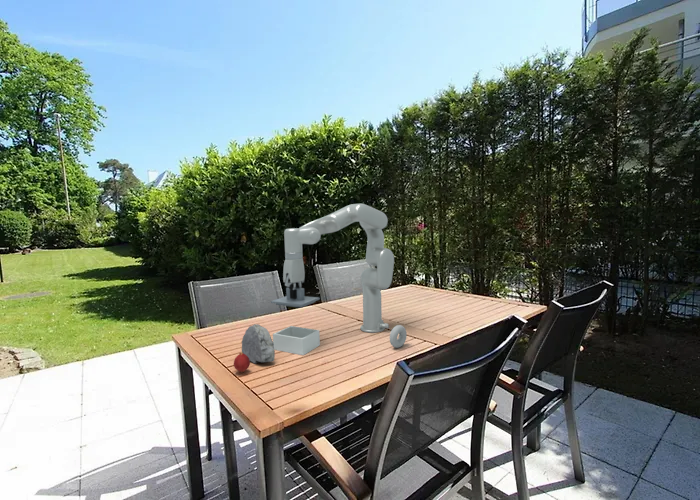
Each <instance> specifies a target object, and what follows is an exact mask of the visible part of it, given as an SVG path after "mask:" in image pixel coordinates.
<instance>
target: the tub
mask: <svg viewBox="0 0 700 500" xmlns="http://www.w3.org/2000/svg"><path fill="white" fill-rule="evenodd" d="M320 337H321V336H320V329H313V328H307V327H299V326H294V325H293V326H292V325H290V326H288V327H285V328H284V329H281V330H279V331H276V332H275V333H272V341H273V344H274V350H275V351H279V352H284V353H291V354H294V355H300V356H304V355H306V354H308V353H309V352H311V351H314V349H316V348H318V347H319V346H320V345H321V341H320V340H321V339H320Z"/></svg>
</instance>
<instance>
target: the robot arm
mask: <svg viewBox="0 0 700 500" xmlns="http://www.w3.org/2000/svg"><path fill="white" fill-rule="evenodd" d="M388 221H389V220H388V216H387V215H386V214H385V213H384V212H383V211H381V210H378V209H377V208H374V207H372V206H370V205H367V204H365V203H353V204H352V203H351V204H349V205H346V206H344V207H342V208H340V209H338V210H336V211H333V212H331V213H329V214H327V215H325V216H323V217H320V218H317V219H314V220H313V221H310V222H308V223H306V224H304V225H301V226H299V228H297V227H296V228H295V227H292V228H286V229H284V233H283V234H284V235H283V236H284V257H285V260H283V261H284V263H283V271H282V272H283V273H282V276H283V277H282V280H283V283H284V286H285V287H286V288H289V290H290V298H291V299H296V298H297V295H296V290H295V288H303V287H302V286H303V283H305V277H306V276H305V272H306V271H305V265H304V259H303V245H314V244H317V243H318V242H320V240H321V236H322V235H324V234H331V233H335V232H338V231H340V230H342V229H344V228H346V227H348V226H349V225H351V224H354V223H355V222H357V223H358V222H359V225H360V226H361V228H362V229H363V230H364V231H365V233H366V237H367V239H366V241H367V244H366V253H365V261H366V263H367V264H368V265H370V266H374V267H376V268H373V267H372V268H371V267H369V268H365V269H364V270H362V272H361V273H360V283H361V288H362V290H361V291H362V321H363V322H362V325H360V327H359V329H360V330H361V331H362V332H365V333H373V334H374V333H381V332H383V331H384V330H385V329H389V328H390V325H389V323H385V322H384V319H382V315H383V313H382V290H387V289H388V288H389V287H391V284H392V281H393V274H394V264H395V256H394V252H393V251H392V250H391V249H389V248H387V247H384V246H385V234H384V232H383V229H385V228H386V227H387V225H388Z"/></svg>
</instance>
